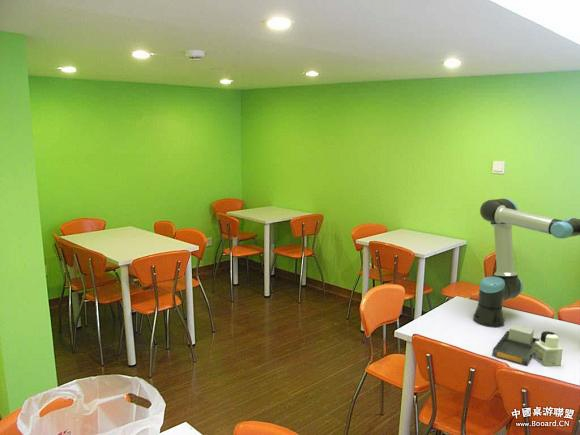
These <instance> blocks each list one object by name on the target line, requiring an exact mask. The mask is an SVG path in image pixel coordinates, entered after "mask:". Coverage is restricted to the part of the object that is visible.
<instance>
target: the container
mask: <svg viewBox="0 0 580 435" xmlns="http://www.w3.org/2000/svg"><path fill="white" fill-rule="evenodd" d="M558 344H559V335H558V334H556V333H555V332H552V331H541V333H540V340H539V341H536V342H535V347H534V354H533V356H532V358H533V359H535V361H537V362H538V363H540V364H541V365H543V367H545V366H547V367H548V366H549V367H550V366H556V367H557V366H561V365H562V358H563V357H562V356H563V351H564V350H563V348H562V347H560V346H559V345H558Z"/></svg>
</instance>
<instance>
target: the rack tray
mask: <svg viewBox="0 0 580 435" xmlns="http://www.w3.org/2000/svg"><path fill="white" fill-rule="evenodd" d="M508 338H509V330H507V331H506V332H505V333H504V335H503V336H502V337H501V338H500V340H499V341H498V342H497V344H496V345H495V346H494V347H493V348H492V357H495V358H499V359H501V360H502V359H503V360H505V361H509V362H512V363H516V364H519V365H522V366H527V367H528V365H529V363H530V361H531V360H532V358H533V355H534V347H535V342H536V341H540V340H541V338H537V337H534V336H533V341H532V343H531V345H530V344H526V343H522V342H518V341H515V340H511V339H508Z"/></svg>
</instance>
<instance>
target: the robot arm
mask: <svg viewBox="0 0 580 435" xmlns="http://www.w3.org/2000/svg"><path fill="white" fill-rule="evenodd" d="M479 214H480V216H481V218H482V219H483V220H485V221H486V222H489V223H490V225H491V226H492V227H493V230H494V234H493V235H494V246H495V247H494V248H495V249H494V250H495V264H496V271H495V272H494V273H493V276H485V277H483V278H482V279H481V280H480V283H479V291H478V292H479V293H478V301H477V302H478V304H477V307H476V310H475V311H474V313H473V317H472V319H473V321H474V322H475V323H477V324H478V325H481V326H483V327H484V326H485V327H490V328H500V327H504V326H505V317H504V312H503V303H504V301H507V300H511V299H515V298H516V297H518V296H519V295H521V293H522V292H523V287H524V286H523V284H524V283H523V281H522V280H521V279H520V278H519V275H518V273H517V272H516V271H515V262H514V261H515V260H514V247H513V231H512V229H513V228H512V226H515V227H519V228H523V229H527V230H531V231H535V232H539V233H544V234H548V235H552V236H553V237H555V238H556V239H567V238H571V237H576V236H580V218H577V217H566V218H565V220H563V219H562V220H561V219H558V218H553V217H548V216H544V215H539V214H536V213H535V214H534V213H530V212H525V211H522V210H519V207H518V205H517V203H516V202H514V201H513V200H512V199H509V198H497V199H496V198H495V199H488V200H486V201H484V202H482V204H481V206H480V208H479Z"/></svg>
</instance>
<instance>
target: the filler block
mask: <svg viewBox="0 0 580 435" xmlns="http://www.w3.org/2000/svg"><path fill="white" fill-rule="evenodd" d="M508 331H509V338H508V339H511V340H515V341H518V342H522V343H526V344H530V345H531V343H532V341H533V337H534V333H535V329H534V328H532V327H527V326H524V325H520V324H515V323H513V324H512V325H511V326H510V327H509V329H508Z"/></svg>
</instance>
